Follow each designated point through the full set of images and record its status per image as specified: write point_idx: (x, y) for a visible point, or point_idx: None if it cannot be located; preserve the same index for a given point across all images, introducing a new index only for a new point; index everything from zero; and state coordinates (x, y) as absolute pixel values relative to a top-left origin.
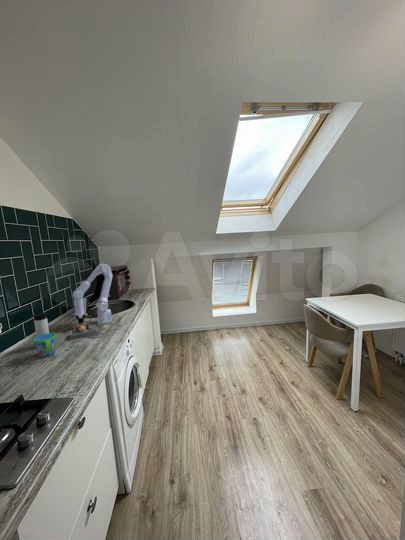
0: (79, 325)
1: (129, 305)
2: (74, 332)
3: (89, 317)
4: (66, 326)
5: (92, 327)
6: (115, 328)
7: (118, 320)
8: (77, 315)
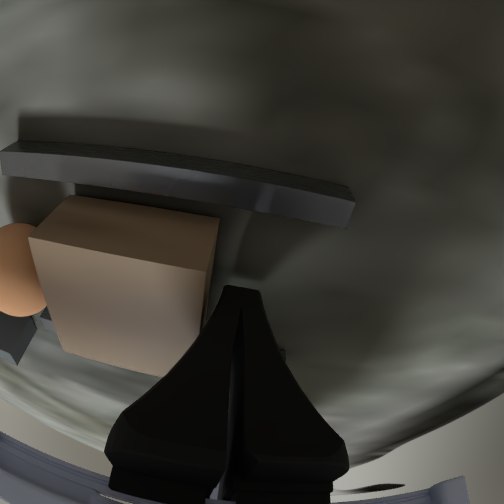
0: (69, 283)
1: (395, 488)
2: (10, 149)
3: (477, 383)
4: (496, 125)
5: (2, 341)
6: (29, 394)
7: None
8: (31, 494)
